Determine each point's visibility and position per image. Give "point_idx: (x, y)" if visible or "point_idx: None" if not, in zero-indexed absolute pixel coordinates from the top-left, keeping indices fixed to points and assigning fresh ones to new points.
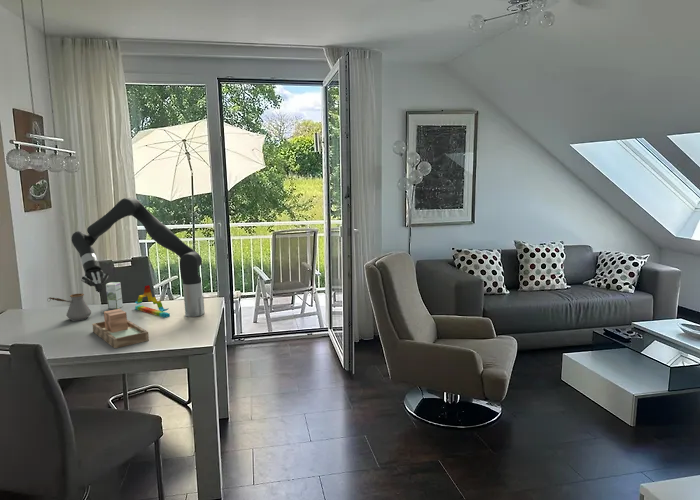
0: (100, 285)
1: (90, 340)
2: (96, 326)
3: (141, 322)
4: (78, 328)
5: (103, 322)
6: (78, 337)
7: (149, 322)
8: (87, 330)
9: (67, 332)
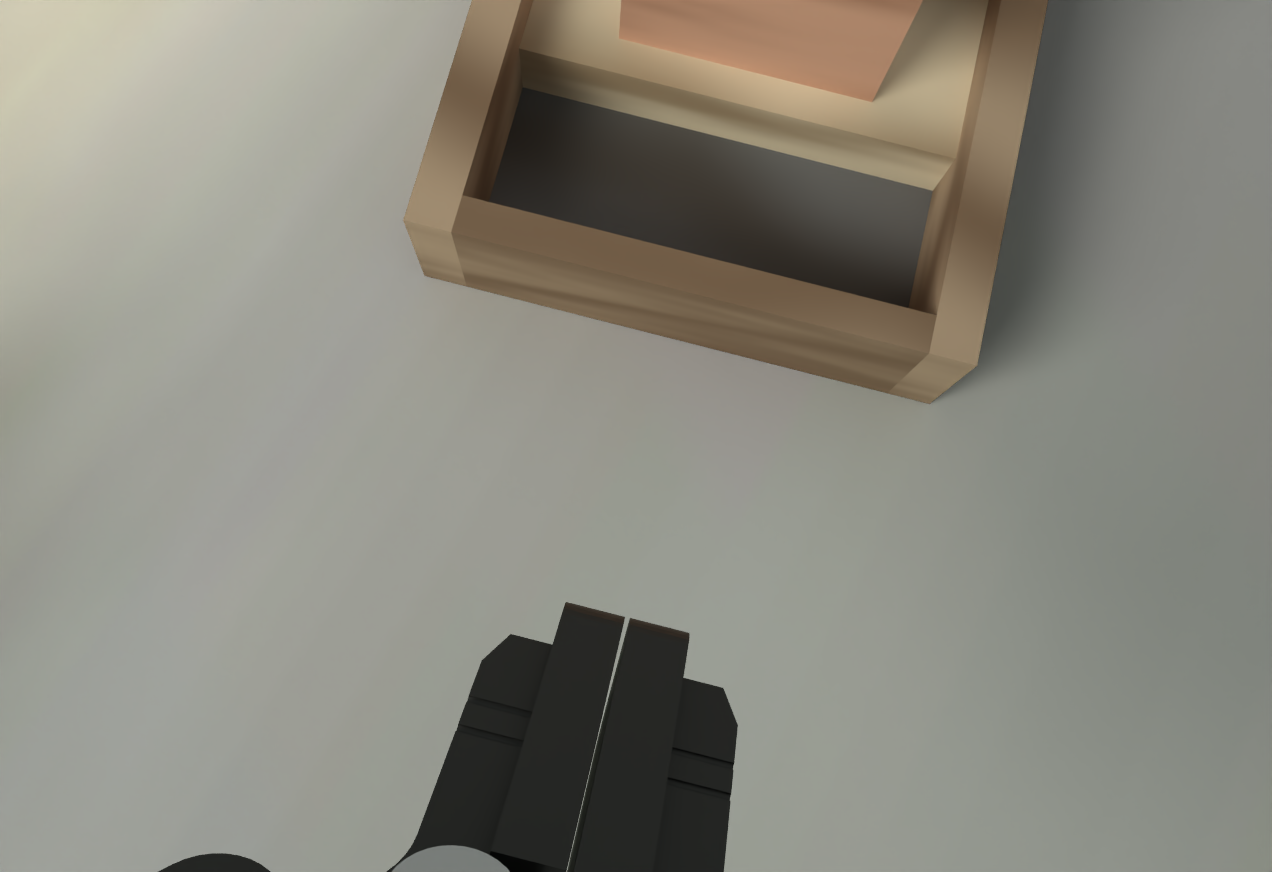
0: (483, 807)
1: (1160, 26)
2: (1018, 127)
3: (163, 174)
4: (980, 867)
5: (799, 281)
6: (1209, 326)
7: (100, 52)
8: (944, 579)
9: (1208, 790)
